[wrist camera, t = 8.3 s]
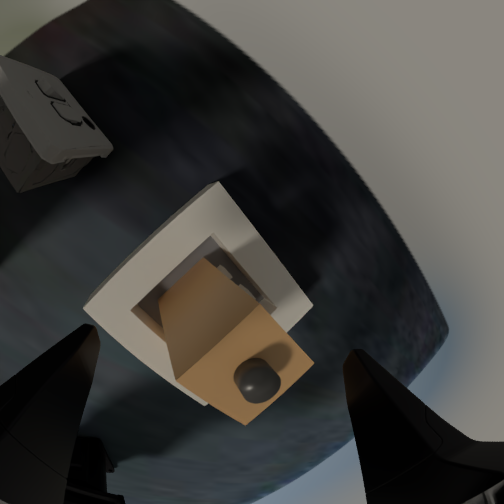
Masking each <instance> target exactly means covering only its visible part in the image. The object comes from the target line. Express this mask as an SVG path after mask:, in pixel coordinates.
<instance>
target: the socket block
mask: <svg viewBox="0 0 504 504" xmlns="http://www.w3.org/2000/svg"><path fill="white" fill-rule="evenodd" d="M203 257H204V258H205V259H206V260H207V261H209V262H210V263H211V264H212V265H213V266H215V267H216V268H217V267H218V266H219V265H221V266H223V267H224V268H225V269H226V270H227V271H228V272H229V273H230V274H231V276H232V278H231V279H230V280H231V281H233V282H234V283H235V284H236V285H238V286H239V285H240V284H241V285H243V286H244V287H245V288H246V289H248V290H249V291H250V293H251V294H252V295H253V296H254V297H255V298H256V301H257V302H258V303H260V304H261V305H262V306H263V308H264V309H265V310H266V311H267V312H268V313H269V314H270V315H271V316H272V318H273V319H274V320H275V321H276V322H277V323H278V324H279V325H280V326H281V327H282V329H283V330H284V331H285V332H286V333H287V332H288V331H289V330H290V329H291V328H292V327H293V326H294V325H295V324H296V323H297V322H298V321H299V320H300V319H301V318H302V317H303V316H304V315H305V314H306V313H307V312H308V311H309V310H310V309H311V307H312V306H313V304H312V303H311V302H310V300H309V299H308V298H307V296H306V295H305V294H304V292H303V291H302V290H301V288H300V287H299V286H298V284H297V283H296V282H295V280H294V279H293V278H292V276H291V275H290V274H289V272H288V271H287V270H286V268H285V267H284V266H283V264H282V263H281V262H280V260H279V259H278V258H277V256H276V255H275V254H274V253H273V251H272V250H271V249H270V247H269V246H268V245H267V243H266V242H265V241H264V239H263V238H262V237H261V235H260V234H259V233H258V232H257V230H256V229H255V228H254V226H253V225H252V224H251V222H250V221H249V220H248V219H247V217H246V216H245V215H244V213H243V212H242V211H241V209H240V208H239V207H238V206H237V204H236V203H235V202H234V200H233V199H232V198H231V197H230V195H229V194H228V193H227V191H226V190H225V189H224V188H223V186H222V185H221V184H220V183H219V181H218V182H215V183H212V184H209V185H207V186H206V187H205V188H204V189H203V190H201V191H200V192H199V193H198V194H197V195H195V196H194V197H193V198H192V199H191V200H189V201H188V202H187V203H186V204H185V205H184V206H182V207H181V208H180V209H179V210H178V211H177V212H176V213H174V214H173V215H172V216H171V217H170V218H169V219H168V220H167V221H165V222H164V223H163V224H162V225H161V226H160V227H159V228H158V229H157V230H155V231H154V232H153V233H152V234H151V235H150V236H149V237H148V238H147V239H146V240H145V241H144V242H143V243H141V244H140V245H139V246H138V247H137V248H136V249H135V250H134V251H133V252H132V253H131V254H130V255H129V256H128V257H127V258H126V259H125V260H124V261H123V262H122V263H121V264H120V265H119V266H118V267H117V268H116V269H115V270H114V271H113V272H112V273H111V274H110V275H109V276H108V277H107V278H106V279H105V280H104V281H103V282H102V283H101V284H100V285H99V286H98V287H97V288H96V289H95V290H94V291H93V292H92V294H91V295H90V296H89V298H88V300H87V302H86V303H85V305H84V307H83V309H84V310H85V311H86V312H87V313H88V314H89V315H90V316H91V317H92V318H93V319H94V320H95V321H96V322H97V323H98V324H99V325H100V326H101V327H103V328H104V329H105V330H106V331H107V332H108V333H109V334H110V335H111V336H112V337H113V338H115V339H116V340H117V341H118V342H119V343H120V344H121V345H123V346H124V347H125V348H126V349H127V350H128V351H130V352H131V353H132V354H133V355H134V356H136V357H137V358H138V359H139V360H141V361H142V362H143V363H144V364H146V365H147V366H148V367H150V368H151V369H152V370H153V371H155V372H156V373H157V374H159V375H160V376H161V377H163V378H164V379H165V380H167V381H168V382H170V383H171V384H172V385H174V386H175V387H177V388H178V389H179V390H181V391H182V392H184V393H185V394H187V395H188V396H190V397H191V398H193V399H194V400H196V401H197V402H199V403H200V404H202V405H204V406H206V405H207V404H208V403H207V402H206V401H204V400H203V399H201V398H200V397H198V396H197V395H195V394H194V393H192V392H191V391H189V390H188V389H186V388H185V387H183V386H182V385H181V384H179V383H178V382H176V380H175V377H174V373H173V369H172V365H171V361H170V357H169V352H168V348H167V344H166V339H165V334H164V330H163V325H162V320H161V315H160V309H159V304H158V299H159V298H160V297H161V296H162V295H163V294H164V293H165V292H166V291H167V290H169V289H170V288H171V287H172V286H173V285H174V284H175V283H176V282H177V281H178V280H179V279H180V278H181V277H182V276H183V275H185V274H186V273H187V272H188V271H189V270H190V269H191V268H192V267H193V266H194V265H195V264H196V263H197V262H199V261H200V260H201V259H202V258H203Z"/></svg>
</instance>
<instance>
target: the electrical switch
mask: <svg viewBox="0 0 504 504" xmlns="http://www.w3.org/2000/svg"><path fill="white" fill-rule="evenodd" d="M13 123H14V127H13V126H12V124H13ZM7 138H8V139H7ZM6 140H7V141H6ZM112 150H113V146H112V144H111V142H110V141H109V140H108V139H107V138H106V136H105V135H104V134H103V133H102V132H101V130H100V129H99V128H98V127H97V126H96V124H95V123H94V122H93V121H92V120H91V118H90V117H89V116H88V115H87V113H86V112H85V111H84V110H83V108H82V107H81V106H80V105H79V103H78V102H77V101H76V100H75V98H74V97H73V96H72V95H71V93H70V92H69V91H68V90H67V88H66V87H65V86H64V84H63V83H62V82H61V81H60V80H59V79H58V78H57V77H55V76H53V75H51V74H49V73H46V72H44V71H42V70H39V69H36V68H34V67H31V66H29V65H26V64H23V63H21V62H18V61H15V60H12V59H10V58H7V57H4V56H1V55H0V167H1V169H2V171H3V172H4V174H5V175H6V177H7V178H8V180H9V181H10V183H11V184H12V186H13V187H14V189H15V190H16V192H17V193H18V192H19V191H20V189H21V188H22V189H21V191H20V193H22V192H25V191H28V190H31V189H34V188H37V187H40V186H44V185H47V184H50V183H54V182H57V181H61V180H65V179H68V178H72V177H75V176H76V175H77V174H78V172H79V171H80V170H81V169H82V168H83V167H84V166H86V165H87V164H88V163H89V162H90V161H91V159H92V158H93V157H94V156H101V158H106V157H107V156H108V155H109V154H110V153H111V151H112ZM64 165H65V166H64ZM63 166H64V167H63ZM11 172H12V173H11ZM27 178H28V179H27ZM25 181H26V182H25ZM24 183H25V184H24ZM23 185H24V186H23ZM22 186H23V187H22Z"/></svg>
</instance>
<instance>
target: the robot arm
mask: <svg viewBox="0 0 504 504" xmlns="http://www.w3.org/2000/svg"><path fill="white" fill-rule="evenodd" d="M99 351H100V339H99V336H98V332H97V329H96V327H95V326H94V325H91V324H83V325H82V326H80V327H79V328H77V329H76V330H75V331H73V332H72V333H70V334H69V335H68V336H66V337H65V338H63V339H62V340H61V341H59V342H58V343H57V344H55V345H54V346H52V347H51V348H50V349H48V350H47V351H46V352H44V353H43V354H42V355H40V356H39V357H38V358H36V359H35V360H34V361H32V362H31V363H30V364H28V365H27V366H26V367H24V368H23V369H22V370H21V371H19V372H18V373H17V374H16V375H14V376H13V377H11V378H10V379H9V380H7V381H6V382H5V383H3V384H2V385H1V386H0V504H125V501H124V497H123V495H115V494H110V493H107V482H106V472H107V473H113V472H114V467H113V465H112V463H111V461H110V459H109V457H108V455H107V453H106V450H105V448H104V446H103V444H102V441H101V440H100V439H98V438H84V437H77V433H78V429H79V425H80V422H81V418H82V415H83V411H84V408H85V405H86V401H87V398H88V395H89V392H90V389H91V385H92V381H93V377H94V372H95V368H96V363H97V359H98V355H99ZM343 375H344V383H345V391H346V399H347V405H348V410H349V414H350V418H351V423H352V427H353V432H354V436H355V441H356V446H357V450H358V455H359V460H360V465H361V470H362V476H363V481H364V487H365V493H366V500H367V504H504V442H482V441H475V440H473V439H470V438H469V437H467V436H466V435H464V434H463V433H461V432H460V431H459V430H457V429H456V428H454V427H453V426H451V425H450V424H449V423H447V422H446V421H445V420H443V419H442V418H441V417H440V416H438V415H437V414H436V413H435V412H434V411H432V410H431V409H430V408H429V407H428V406H427V405H425V404H424V403H423V402H422V401H421V400H420V399H419V398H418V397H416V396H415V395H414V394H413V393H412V392H410V390H408V389H407V388H406V387H405V386H404V385H403V384H402V383H400V382H399V381H398V380H397V379H396V378H395V377H394V376H392V375H391V374H390V373H389V372H388V371H387V370H386V369H384V368H383V367H382V366H381V365H380V364H379V363H378V362H376V361H375V360H374V359H373V358H372V357H371V356H370V355H368V354H367V353H366V352H365V351H364V350H362V349H353V350H351V352H350V353H349V355H348V357H347V358H346V360H345V362H344V364H343Z"/></svg>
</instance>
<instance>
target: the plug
mask: <svg viewBox="0 0 504 504" xmlns="http://www.w3.org/2000/svg"><path fill="white" fill-rule="evenodd" d="M231 278H232V276H231V274H230V273H229V272H228V271H227V270H226V269H225V268H224V267H223V266H221V265H219V266H218V267H217V268H216V267H215V266H213V265H212V264H211V263H210V262H209V261H207V260H206V259H205V258H204V257H203V258H202V259H201V260H200V261H199V262H197V263H196V264H195V265H194V266H193V267H192V268H191V269H190V270H189V271H188V272H187V273H186V274H185V275H183V276H182V277H181V278H180V279H179V280H178V281H177V282H176V283H175V284H174V285H173V286H172V287H171V288H170V289H169V290H167V291H166V292H165V293H164V294H163V295H162V296H161V297H160V298H159V299H158V304H159V309H160V315H161V320H162V325H163V330H164V334H165V339H166V344H167V348H168V352H169V357H170V361H171V365H172V369H173V373H174V377H175V380H176V382H178V383H179V384H181V385H182V386H183V387H185V388H186V389H188V390H189V391H191V392H192V393H194V394H195V395H197V396H198V397H200V398H201V399H203V400H204V401H206V402H207V403H209V404H210V405H212V406H213V407H215V408H217V409H218V410H220V411H222V412H223V413H225V414H226V415H228V416H230V417H232V418H233V419H235V420H237V421H238V422H240V423H242V424H244V425H247V424H248V423H249V422H250V421H251V420H253V419H254V418H255V417H256V416H258V415H259V414H260V413H261V412H262V411H263V410H265V409H266V408H267V407H268V406H269V405H270V404H272V403H273V402H274V401H275V400H276V399H277V398H278V397H279V396H281V395H282V394H283V393H284V392H285V391H286V390H287V389H288V388H289V387H290V386H291V385H293V384H294V383H295V382H296V381H297V380H298V379H299V378H300V377H301V376H302V375H303V374H304V373H305V372H306V371H307V370H308V369H309V368H310V367H311V366H312V365H313V364H314V362H313V361H312V360H311V359H310V358H309V357H308V356H307V355H306V353H305V352H304V351H303V350H302V349H301V348H300V347H299V346H298V345H297V344H296V343H295V342H294V341H293V339H292V338H291V337H290V336H289V335H288V334H287V333H286V332H285V331H284V330H283V329H282V327H281V326H280V325H279V324H278V323H277V322H276V321H275V320H274V319H273V318H272V316H271V315H270V314H269V313H268V312H267V311H266V310H265V309H264V308H263V306H262V305H261V304H260V303H258V302H257V301H256V298H255V297H254V296H253V295H252V294H251V293H250V291H249V290H248V289H246V288H245V287H244V286H243V285H241V284H240V285H239V286H238V285H236V284H235V283H234V282H233V281H231V280H230V279H231Z"/></svg>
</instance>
